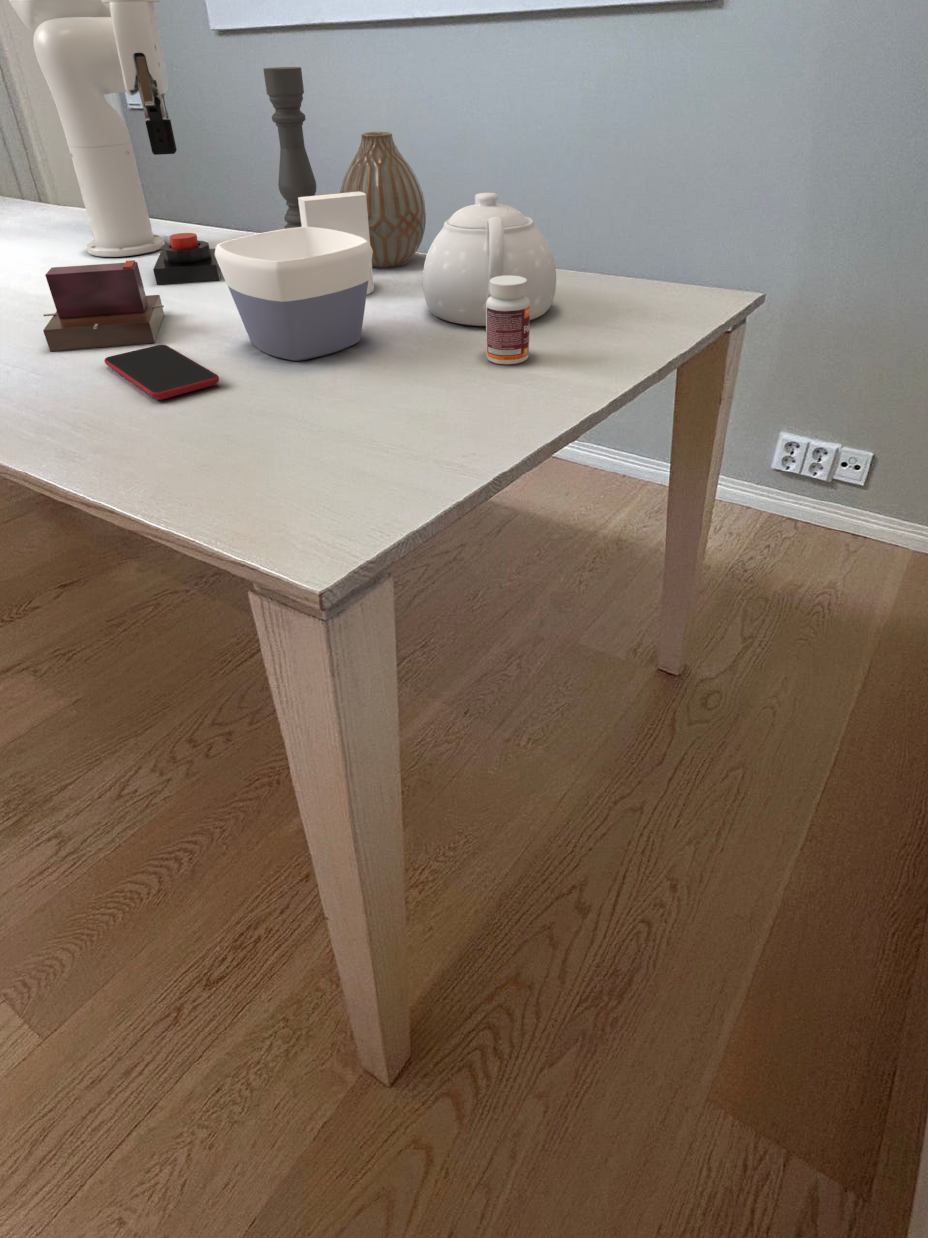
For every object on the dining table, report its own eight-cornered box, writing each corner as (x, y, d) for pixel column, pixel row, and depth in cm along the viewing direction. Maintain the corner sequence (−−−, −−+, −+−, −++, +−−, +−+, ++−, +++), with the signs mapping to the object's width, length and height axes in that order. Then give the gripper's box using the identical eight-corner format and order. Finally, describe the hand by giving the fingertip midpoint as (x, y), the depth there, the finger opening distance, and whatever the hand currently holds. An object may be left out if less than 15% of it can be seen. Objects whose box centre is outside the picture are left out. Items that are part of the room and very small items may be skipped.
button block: (164, 266, 126) (157, 239, 123) (222, 262, 127) (217, 235, 125) (156, 284, 117) (149, 255, 115) (219, 280, 119) (213, 251, 116)
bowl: (320, 315, 103) (308, 221, 97) (397, 341, 95) (389, 240, 88) (215, 344, 95) (194, 244, 88) (289, 376, 86) (272, 267, 79)
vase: (359, 251, 131) (347, 127, 121) (436, 253, 129) (431, 127, 118) (332, 271, 121) (317, 138, 110) (416, 274, 119) (408, 139, 108)
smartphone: (164, 343, 93) (221, 376, 84) (166, 350, 94) (223, 384, 84) (101, 357, 89) (154, 394, 80) (103, 365, 90) (156, 403, 80)
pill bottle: (532, 363, 88) (535, 284, 83) (490, 366, 87) (490, 286, 82) (523, 349, 92) (525, 272, 87) (482, 352, 91) (482, 275, 86)
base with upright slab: (320, 302, 108) (308, 204, 101) (303, 286, 115) (290, 193, 108) (382, 293, 111) (375, 198, 104) (362, 278, 118) (354, 187, 110)
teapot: (388, 313, 104) (379, 196, 95) (482, 283, 114) (482, 176, 106) (496, 343, 93) (497, 216, 85) (589, 307, 104) (597, 190, 96)
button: (173, 245, 121) (170, 233, 120) (199, 244, 122) (197, 231, 121) (170, 251, 118) (167, 239, 117) (198, 250, 119) (195, 237, 118)
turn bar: (58, 318, 96) (44, 272, 93) (64, 309, 99) (50, 265, 96) (144, 311, 98) (132, 266, 95) (147, 303, 100) (136, 259, 97)
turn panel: (62, 319, 104) (55, 298, 103) (173, 310, 107) (168, 290, 105) (38, 355, 93) (30, 332, 92) (163, 345, 95) (157, 322, 94)
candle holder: (320, 251, 132) (299, 68, 117) (283, 252, 132) (257, 69, 117) (326, 243, 137) (306, 66, 121) (290, 243, 137) (266, 67, 122)
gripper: (107, -10, 107) (143, 147, 118) (88, -14, 95) (130, 162, 106) (165, -11, 108) (195, 145, 119) (153, -15, 96) (188, 159, 107)
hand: (164, 152), depth 112 cm, fingers closed
